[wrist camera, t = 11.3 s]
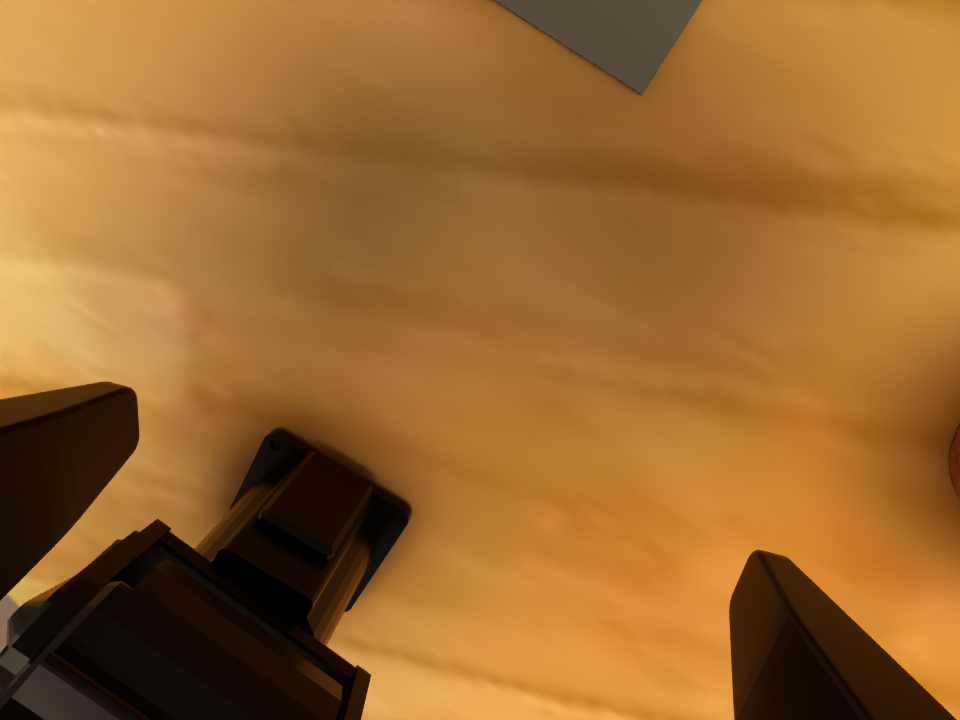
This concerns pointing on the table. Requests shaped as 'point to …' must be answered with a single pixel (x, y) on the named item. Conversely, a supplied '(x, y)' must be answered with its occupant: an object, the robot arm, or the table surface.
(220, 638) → the robot arm
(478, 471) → the table surface
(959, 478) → the disposable coffee cup
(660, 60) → the charcoal mat
